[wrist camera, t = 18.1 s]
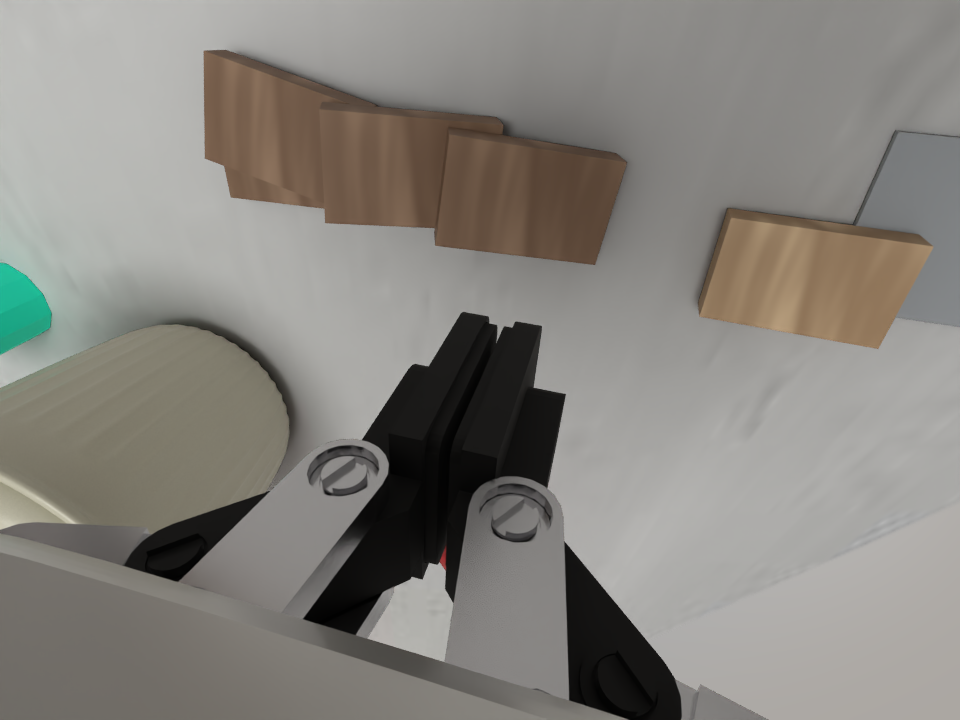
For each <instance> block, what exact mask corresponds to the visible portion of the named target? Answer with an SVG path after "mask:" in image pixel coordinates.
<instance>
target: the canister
mask: <svg viewBox="0 0 960 720" xmlns="http://www.w3.org/2000/svg"><path fill="white" fill-rule="evenodd" d="M286 412H287V408H286V405H285V403H284V402H283V400H282V394H281V393H280V392H279V391H278V389H277V387H276V384H275V382H274V381H272V380H271V379H270V377H269V375H268V372H266V371H265V370H264V369H263V368H262V367H261V366H260V365H259V363H258V362H257V361H255V360H254V359H253V358H251V357H250V356H249V354H248V352H245V351H243V350H242V349H240V348H239V347H238V346H237V345H236V344H234V343H231V342H229V341H227V340H226V339H225V338H224V337H222V336H217V335H215V334H214V333H212V332H211V331H208V330H201V329H199V328H197V327H192V326H188V327H187V326H184V325H178V324H176V325H156V326H151V327H147V328H142V329H138V330H135V331H132V332H129V333H126V334H124V335H121V336H119V337H116V338H114V339H111V340H109V341H107V342H104V343H102V344H99V345H97V346H95V347H92V348H90V349H87V350H85V351H83V352H80V353H78V354H76V355H73V356H71V357H69V358H66V359H64V360H62V361H60V362H57V363H55V364H53V365H50V366H48V367H46V368H44V369H41V370H39V371H37V372H35V373H33V374H30V375H28V376H26V377H24V378H22V379H19V380H17V381H15V382H13V383H11V384H8V385H6V386H4V387H2V388H0V530H1V529H4V528H7V527H10V526H13V525H16V524H21V523H31V522H44V523H66V524H87V525H108V526H130V527H147V529H148V531H149V534H153V533H155V532H156V531H158V530H160V529H162V528H165V527H167V526H169V525H171V524H174V523H177V522H180V521H183V520H186V519H189V518H192V517H194V516H197V515H200V514H203V513H206V512H209V511H212V510H215V509H218V508H221V507H224V506H227V505H230V504H233V503H236V502H239V501H242V500H245V499H248V498H251V497H254V496H256V495H259V494H262V493H265V492H266V491H267V489H268V488H269V486H270V484H271V482H272V481H273V479H274V477H275V475H276V473H277V471H278V469H279V467H280V465H281V463H282V460H283V458H284V456H285V453H286V450H287V446H288V439H289V433H290V431H289V417H288V415H287V413H286Z"/></svg>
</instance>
